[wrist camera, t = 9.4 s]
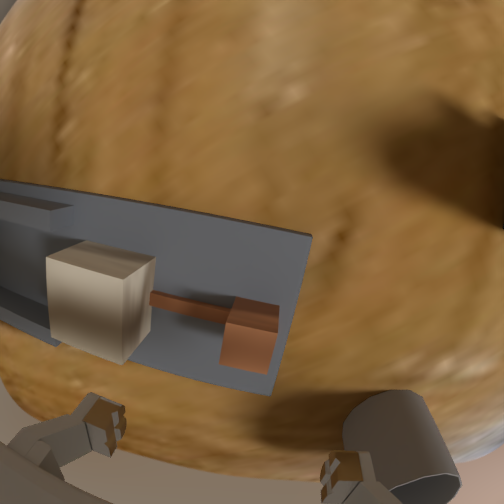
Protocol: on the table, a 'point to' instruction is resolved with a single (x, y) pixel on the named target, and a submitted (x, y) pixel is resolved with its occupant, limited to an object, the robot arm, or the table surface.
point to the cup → (403, 447)
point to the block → (142, 307)
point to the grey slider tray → (166, 271)
